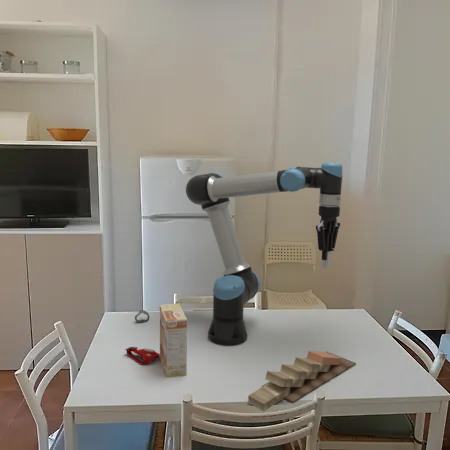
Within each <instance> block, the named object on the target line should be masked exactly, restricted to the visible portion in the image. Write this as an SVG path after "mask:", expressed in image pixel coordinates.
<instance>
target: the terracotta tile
mask: <svg viewBox="0 0 450 450" xmlns="http://www.w3.org/2000/svg"><path fill="white" fill-rule="evenodd" d="M327 352H328V351H327ZM327 352H326V351H325V352H324V351H313V350H312V351H311V350H308V351H307V355H306V358H308V359H310V360H312V361H315V362H317V363H320V364H324V365H340V362H341V358H340V357H341V356H339V357H337V356H338V355H337V356H335V355H336V354H334V355H332V354H333V353H332V354H330V353H331V352H329V353H327Z"/></svg>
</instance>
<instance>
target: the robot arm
mask: <svg viewBox="0 0 450 450" xmlns="http://www.w3.org/2000/svg"><path fill="white" fill-rule="evenodd" d="M343 177H344V176H343V165H342V164H341V163H339V162H322V163H321V166H320V167H307V166H291V167H290V168H288V169H283V170H274V171H266V172H258V173H249V174H242V175H233V176H225V177H224V175H222V174H220V173H215V172H210V173H204V174H199V175H194V176H192V177H191V178H190V179H189V180H188V181H187V184H185V185H186V186H185V194H186V197H187V198H188V200H189V201H190V202H192V203H193V204H195V205H199V206H201V209H202V211H203V212H205V213H207V216H208V219H209V223H210V225H211V228H212V231H213V234H214V237H215V242H216V244H217V248H218V251H219V253H220V256H221V259H222V263H223V265H224V269H225V270H224V272H223V273H222V276H220V277H218V278H216V280H215V281H214V283H213V289H212V293H213V294H212V295H213V296H212V297H213V301H212V302H213V303H212V305H213V307H212V314H213V315H212V321H211V322H210V325H209V328H208V331H207V335H208V336H207V338H208V340H209V341H210V342H211V343H213V344H215V345H219V346H220V345H221V346H225V347H226V346H227V347H228V346H238V345H241V344H244V343H246V341H247V340H248V331H247V328H246V324H245V320H244V306H245V304H246V303H247V302H249V301H250V300H251V299H253V298H254V297H255V296H256V295H257V294H258V293H259V291H260V290H259V289H260V286H261V284H260V279H259V276H258V275H257V274H256V272H254V271H253V270H252V266H251V265H250V264H248V263H247V262H246V260H245V257H244V254H243V251H242V247H241V245H240V241H239V238H238V235H237V232H236V229H235V226H234V223H233V220H232V217H231V213H230V210H229V205H230V201H231V200H230V198H237V197H244V196H246V197H247V196H255V195H256V196H257V195H264V194H272V193H273V194H274V193H275V194H276V193H284V192H289V193H292V192H293V193H294V192H298V191H300V190H302V189H303V190H304V189H319V201H318V202H319V205H318V206H319V207H318V215H319V216H320V217H321V218H320V221H319V225H316V226H315V230H316V234H317V235H316V237H317V247H318V250H319V252H320V251H321V263H320V265H321V267H320V268H322V269H327V270H329V269H330V268H331V253H332V252H334V250H335V248H336V243H337V238H338V233H339V229H340V226H341V223H340V222H338V219H337V218H339V216H340V213H341V207H340V205H341V199H342V197H341V196H342V195H341V194H342V186H343V185H342V183H343Z"/></svg>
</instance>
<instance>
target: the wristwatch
mask: <svg viewBox="0 0 450 450" xmlns="http://www.w3.org/2000/svg"><path fill="white" fill-rule="evenodd" d="M141 314H144V315H146V316H147V318H146V319H144V320H143V319H142V320H140V319H137V318H138V317H139V316H140V315H141ZM134 320H135V321H136V322H137V323H140V324H142V323H147V322H149V320H150V314H149V312H148V311H146V310H144V309H141V310H139V311H138V313H137V314H136V315H135V316H134Z"/></svg>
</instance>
